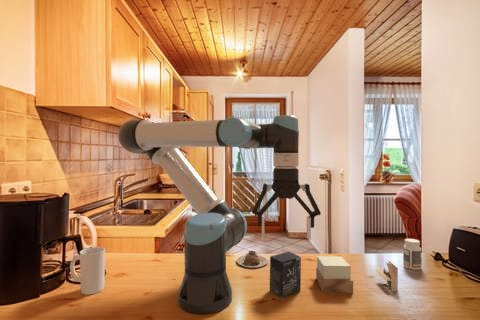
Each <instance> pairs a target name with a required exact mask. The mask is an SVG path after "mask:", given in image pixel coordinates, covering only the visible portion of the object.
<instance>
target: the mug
mask: <svg viewBox="0 0 480 320" xmlns="http://www.w3.org/2000/svg"><path fill="white" fill-rule="evenodd" d="M76 261H79V271H80V272H79V274H78V273H77V272H76V269H75V264H76ZM105 264H106V248H105V247H102V246H93V247H89V248H84V249H82V250H79V253H75V254H73V255H72V259H71V261H70V265H69V269H70V274H71V276H72V280H73V281H74V282H79V283H80V293H81V294H83V295H85V296H87V295H88V296H89V295H94V294H98V293H100V292H101V291H103V290H104V289H105V277H106V274H105V272H106V271H105V270H106V265H105Z"/></svg>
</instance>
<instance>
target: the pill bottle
mask: <svg viewBox="0 0 480 320" xmlns="http://www.w3.org/2000/svg"><path fill="white" fill-rule="evenodd" d="M404 243H405V244H404V245H403V248H402V249H403V250H402V251H403V259H402V260H403V261H402V262H403V266H404V267H405V268H406V269H410V270H415V271H419V270H421V269H422V266H423V265H422V263H423V262H422V247H420V245H421V241H420V240H419V239H415V238H405V239H404Z"/></svg>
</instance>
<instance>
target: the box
mask: <svg viewBox="0 0 480 320" xmlns="http://www.w3.org/2000/svg"><path fill="white" fill-rule="evenodd" d="M301 262H302V257H301V256H299V255H297V254H295V253H293V252H290V251H286V252H282V253H278V254H274V255H270V257H269V291H271V292H272V293H273V294H275V295H276V296H278V297H279V298H284V297H286V296H290V295H292V294H295V293H298V292H300V291H301V289H302V287H301V280H302V279H301V277H302V271H301V270H302V269H301V268H302V267H301V266H302V263H301Z"/></svg>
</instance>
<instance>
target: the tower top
mask: <svg viewBox="0 0 480 320" xmlns="http://www.w3.org/2000/svg"><path fill="white" fill-rule="evenodd" d="M316 259H317V261H316V267H317V269H318V270H319V272H320V274H321V275H322V277H323V279H351V278H352V277H351V274H352V273H351V270H352V269H351V268H352V267H351V265H350V264H349V263H348V262H347V261H346V260H345V259H344V257H343V256H337V255H336V256H333V255H331V256H326V255H325V256H324V255H322V256H321V255H320V256H319V255H317V256H316Z"/></svg>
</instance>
